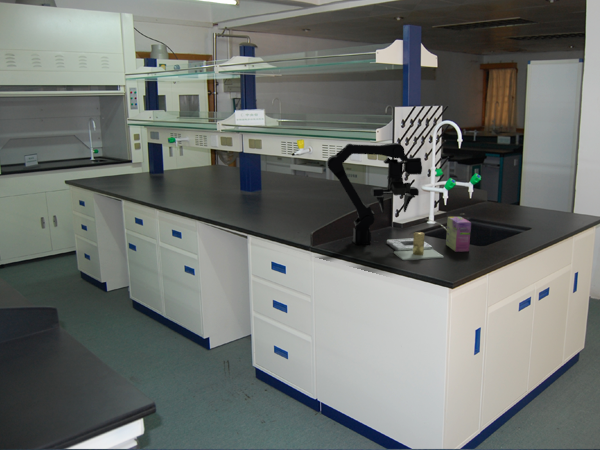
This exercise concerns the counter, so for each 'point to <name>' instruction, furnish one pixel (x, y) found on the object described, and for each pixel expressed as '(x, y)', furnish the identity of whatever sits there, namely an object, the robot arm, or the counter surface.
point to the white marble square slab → (405, 244)
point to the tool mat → (410, 256)
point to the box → (458, 234)
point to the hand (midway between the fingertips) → (393, 212)
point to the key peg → (418, 243)
